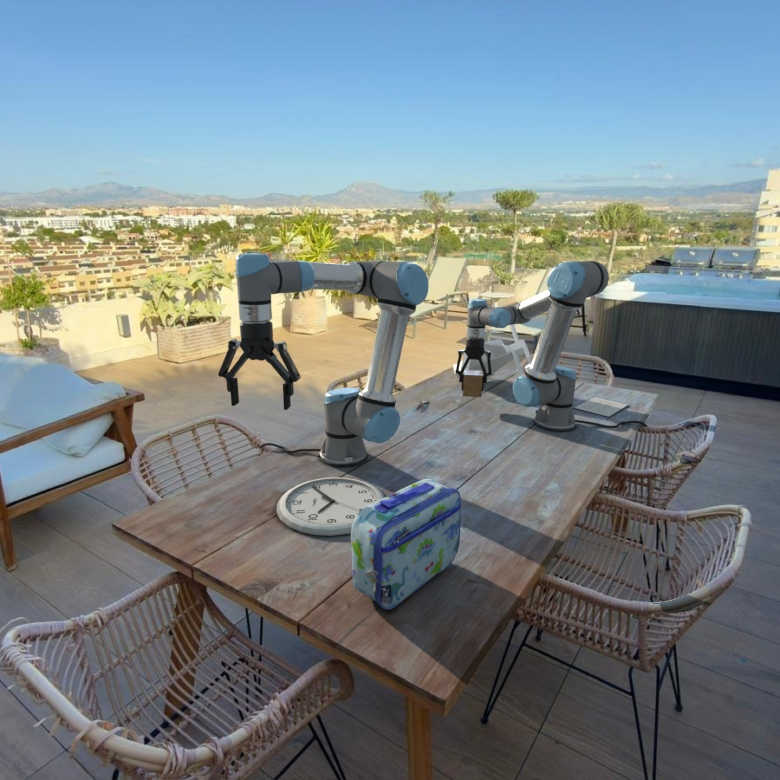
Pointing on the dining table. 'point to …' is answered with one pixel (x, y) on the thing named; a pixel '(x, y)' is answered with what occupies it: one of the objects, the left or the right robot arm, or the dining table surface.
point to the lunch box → (405, 541)
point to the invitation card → (601, 406)
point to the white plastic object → (499, 355)
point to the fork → (423, 402)
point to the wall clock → (326, 505)
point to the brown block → (472, 383)
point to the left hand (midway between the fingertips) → (261, 406)
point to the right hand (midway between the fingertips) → (472, 390)
